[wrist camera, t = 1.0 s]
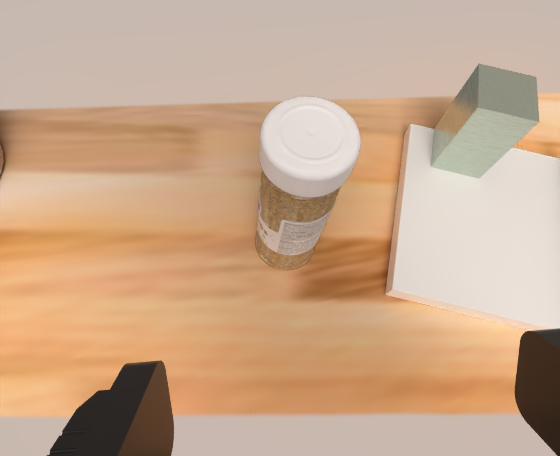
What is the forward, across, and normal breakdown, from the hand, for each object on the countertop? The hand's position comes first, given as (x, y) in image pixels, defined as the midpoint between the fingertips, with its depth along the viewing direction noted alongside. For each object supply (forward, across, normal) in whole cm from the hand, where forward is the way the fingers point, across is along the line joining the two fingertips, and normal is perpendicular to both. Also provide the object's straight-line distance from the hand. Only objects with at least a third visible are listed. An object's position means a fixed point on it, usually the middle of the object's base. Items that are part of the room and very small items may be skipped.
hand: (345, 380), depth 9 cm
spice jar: (+20, 0, +3) cm, 21 cm away
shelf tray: (+22, -16, +3) cm, 27 cm away
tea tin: (+24, -15, -3) cm, 28 cm away
